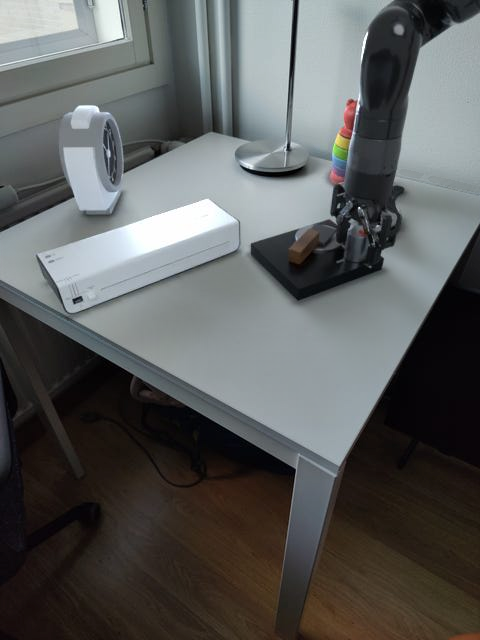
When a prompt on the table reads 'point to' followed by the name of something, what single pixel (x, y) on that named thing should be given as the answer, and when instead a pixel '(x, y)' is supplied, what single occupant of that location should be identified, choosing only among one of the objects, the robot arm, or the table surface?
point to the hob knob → (356, 244)
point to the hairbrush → (392, 203)
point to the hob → (308, 265)
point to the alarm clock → (92, 158)
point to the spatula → (310, 242)
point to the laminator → (138, 254)
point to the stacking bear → (343, 143)
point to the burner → (320, 248)
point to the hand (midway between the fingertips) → (356, 252)
